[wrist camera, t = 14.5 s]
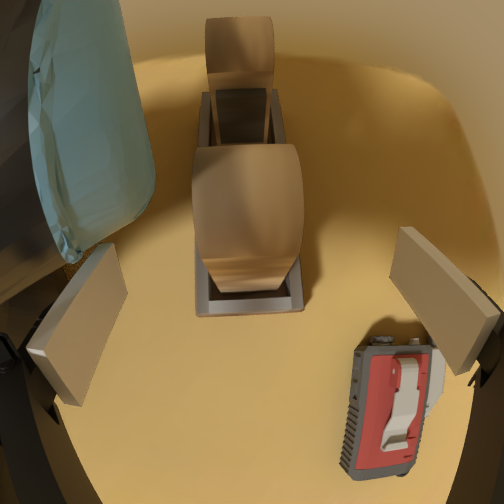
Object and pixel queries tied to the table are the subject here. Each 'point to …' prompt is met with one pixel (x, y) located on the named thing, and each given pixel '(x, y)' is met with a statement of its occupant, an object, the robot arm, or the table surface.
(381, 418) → the walkie-talkie
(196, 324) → the table surface
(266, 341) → the table surface
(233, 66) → the rail
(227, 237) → the block
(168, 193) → the table surface
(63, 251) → the robot arm
